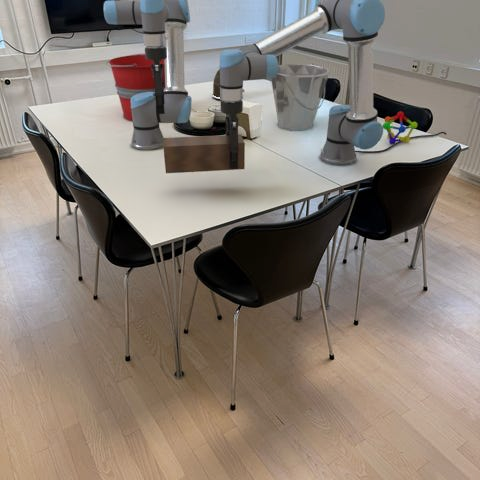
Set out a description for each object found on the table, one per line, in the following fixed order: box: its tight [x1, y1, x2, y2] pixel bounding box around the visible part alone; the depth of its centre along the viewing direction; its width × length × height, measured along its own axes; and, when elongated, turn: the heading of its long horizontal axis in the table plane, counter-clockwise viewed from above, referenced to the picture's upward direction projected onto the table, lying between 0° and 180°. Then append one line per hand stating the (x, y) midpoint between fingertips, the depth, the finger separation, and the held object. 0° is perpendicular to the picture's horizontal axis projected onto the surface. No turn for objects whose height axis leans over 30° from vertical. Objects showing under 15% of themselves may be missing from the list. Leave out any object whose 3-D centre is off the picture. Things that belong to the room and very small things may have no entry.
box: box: [162, 134, 246, 174], centre depth 157 cm, size 28×9×10 cm, turn 98°
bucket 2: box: [270, 63, 330, 131], centre depth 226 cm, size 30×30×28 cm
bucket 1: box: [105, 53, 165, 122], centre depth 239 cm, size 35×35×30 cm
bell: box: [212, 68, 220, 97], centre depth 278 cm, size 19×26×20 cm
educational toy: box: [382, 110, 418, 145], centre depth 207 cm, size 16×13×15 cm
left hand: (161, 108), depth 164 cm, fingers open, 13 cm apart
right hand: (232, 163), depth 160 cm, fingers closed on box, 9 cm apart
